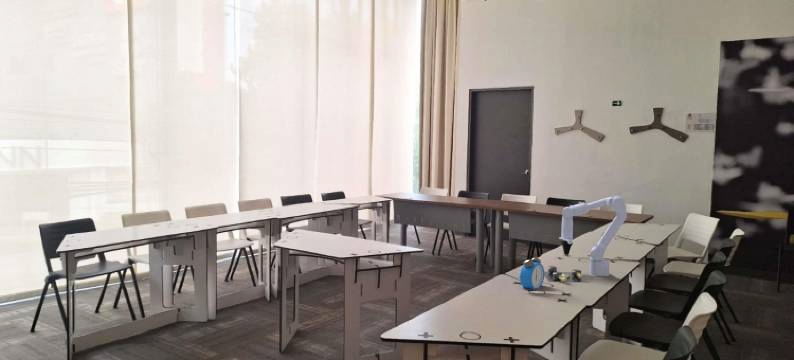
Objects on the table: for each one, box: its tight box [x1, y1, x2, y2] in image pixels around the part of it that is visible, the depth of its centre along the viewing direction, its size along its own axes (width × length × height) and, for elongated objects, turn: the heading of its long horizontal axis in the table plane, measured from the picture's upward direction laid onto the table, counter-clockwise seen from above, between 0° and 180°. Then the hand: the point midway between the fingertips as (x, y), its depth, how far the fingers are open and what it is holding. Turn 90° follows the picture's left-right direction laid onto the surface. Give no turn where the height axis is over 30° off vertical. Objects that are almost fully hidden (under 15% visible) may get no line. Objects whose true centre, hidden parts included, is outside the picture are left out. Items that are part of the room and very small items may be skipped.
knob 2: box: [553, 271, 567, 281], centre depth 263 cm, size 10×4×3 cm, turn 13°
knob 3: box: [571, 269, 583, 278], centre depth 268 cm, size 10×4×3 cm, turn 175°
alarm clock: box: [519, 256, 545, 292], centre depth 253 cm, size 13×6×15 cm, turn 136°
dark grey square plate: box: [544, 271, 590, 284], centre depth 272 cm, size 20×20×2 cm
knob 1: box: [547, 264, 558, 274], centre depth 281 cm, size 10×4×3 cm, turn 162°
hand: (566, 254), depth 282 cm, fingers closed
